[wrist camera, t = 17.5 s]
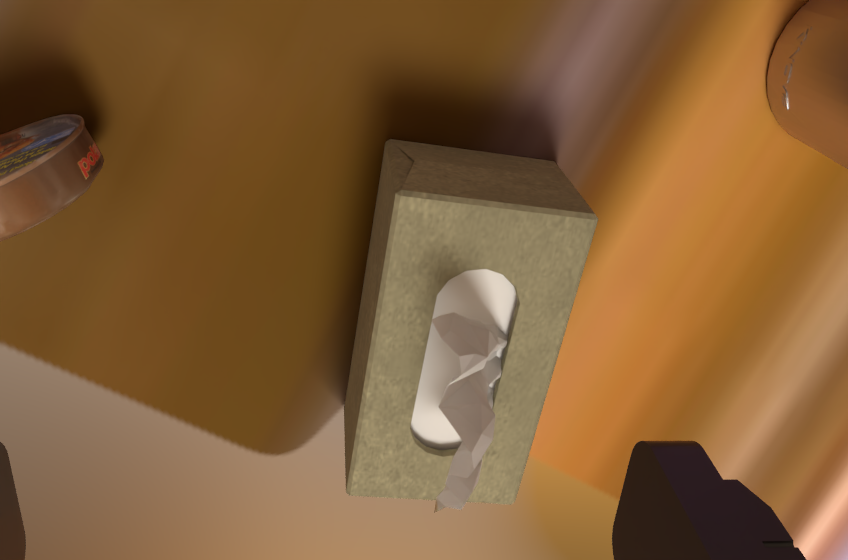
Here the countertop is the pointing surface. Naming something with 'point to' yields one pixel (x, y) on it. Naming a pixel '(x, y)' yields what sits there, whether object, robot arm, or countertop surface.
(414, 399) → the tissue box
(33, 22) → the countertop surface
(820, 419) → the countertop surface
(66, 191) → the tin
